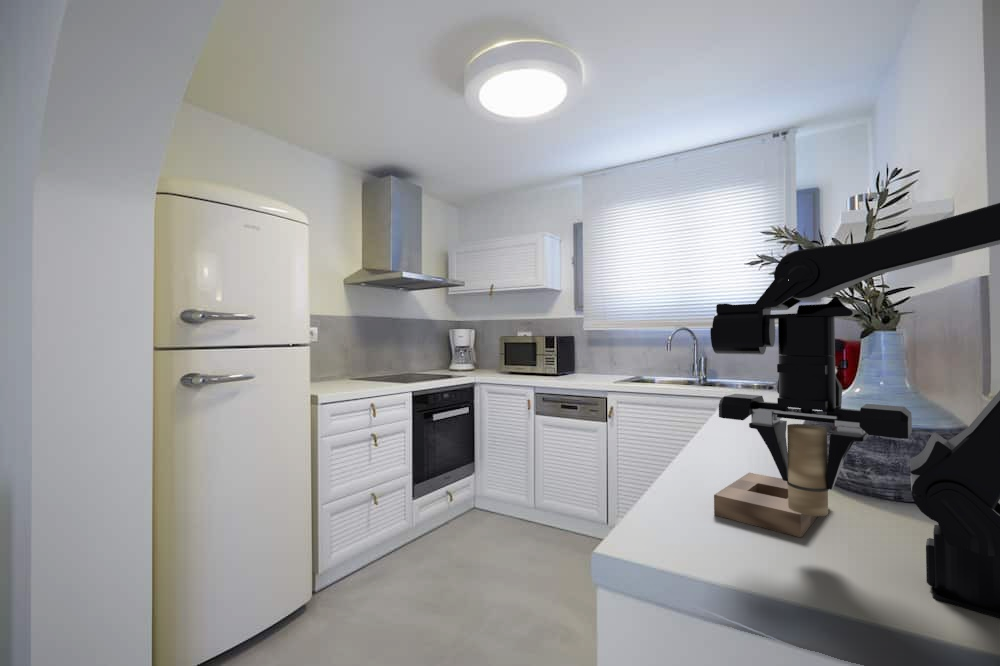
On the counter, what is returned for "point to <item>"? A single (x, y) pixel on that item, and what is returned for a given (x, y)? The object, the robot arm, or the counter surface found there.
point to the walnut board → (761, 504)
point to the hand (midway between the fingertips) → (807, 484)
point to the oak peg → (807, 469)
